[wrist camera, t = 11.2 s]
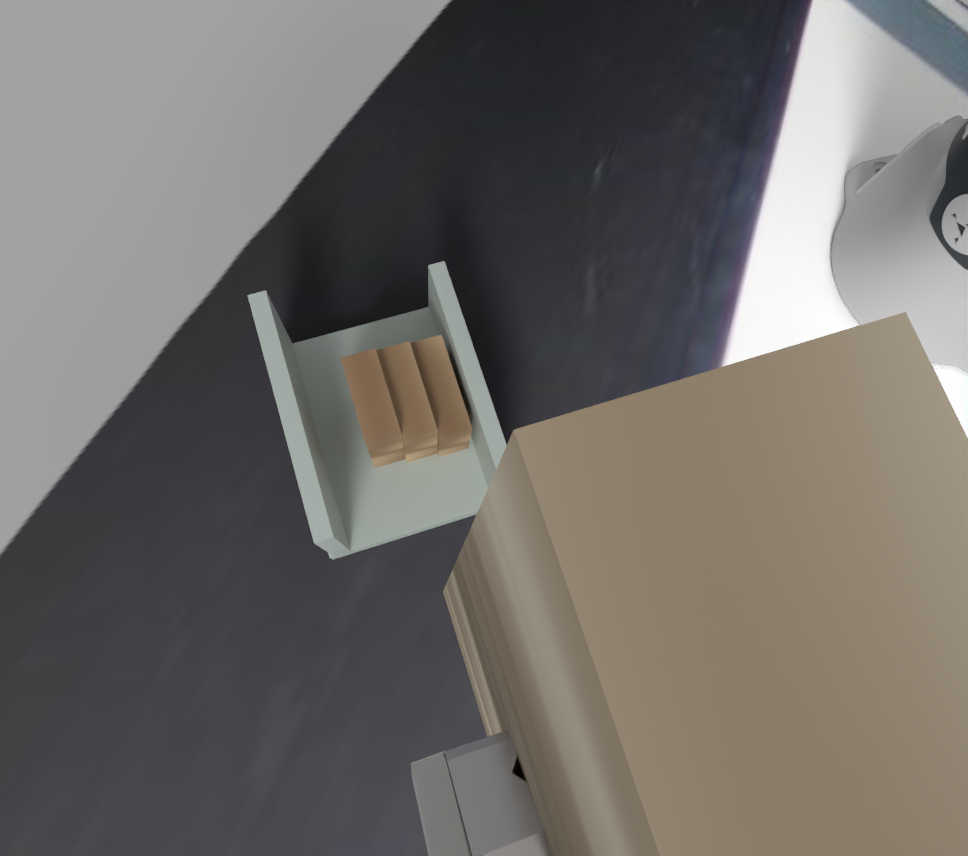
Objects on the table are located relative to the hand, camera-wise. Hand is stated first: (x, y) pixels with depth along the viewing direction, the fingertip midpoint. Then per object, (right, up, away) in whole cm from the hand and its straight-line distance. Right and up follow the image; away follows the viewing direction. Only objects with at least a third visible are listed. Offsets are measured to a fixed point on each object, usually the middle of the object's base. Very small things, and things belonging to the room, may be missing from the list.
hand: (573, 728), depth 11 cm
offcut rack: (-8, +4, +37) cm, 38 cm away
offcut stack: (-6, +5, +36) cm, 37 cm away
